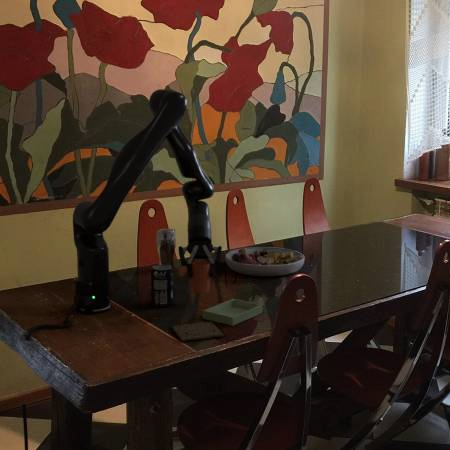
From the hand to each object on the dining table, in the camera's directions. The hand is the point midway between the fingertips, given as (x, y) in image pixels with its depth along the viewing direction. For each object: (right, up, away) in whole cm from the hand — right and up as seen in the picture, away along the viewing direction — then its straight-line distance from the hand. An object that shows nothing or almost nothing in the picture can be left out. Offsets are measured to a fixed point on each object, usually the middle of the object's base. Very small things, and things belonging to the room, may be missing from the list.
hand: (201, 276), depth 223 cm
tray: (+10, -12, -5) cm, 16 cm away
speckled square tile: (+2, -15, -21) cm, 25 cm away
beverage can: (-13, -9, +4) cm, 17 cm away
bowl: (+17, -1, +51) cm, 54 cm away
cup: (-1, -5, +3) cm, 6 cm away
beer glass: (-19, -1, +45) cm, 49 cm away
